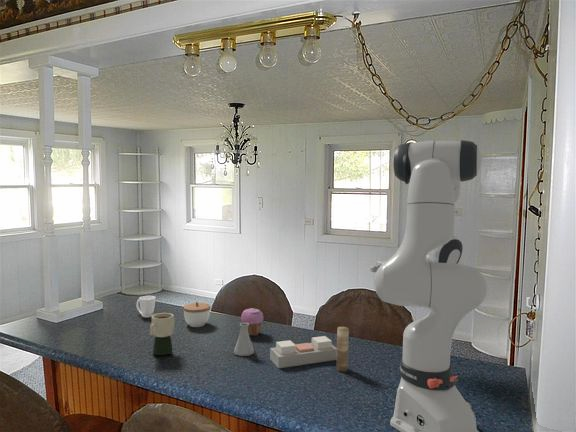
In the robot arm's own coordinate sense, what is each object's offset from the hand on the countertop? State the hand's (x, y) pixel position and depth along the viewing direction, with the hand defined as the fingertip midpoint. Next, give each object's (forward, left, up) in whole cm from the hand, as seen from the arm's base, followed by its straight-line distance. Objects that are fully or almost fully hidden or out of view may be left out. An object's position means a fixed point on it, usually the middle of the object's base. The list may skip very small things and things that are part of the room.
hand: (379, 272), depth 138 cm
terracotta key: (+11, +21, -28) cm, 37 cm away
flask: (+23, +38, -30) cm, 54 cm away
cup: (+78, +67, -30) cm, 107 cm away
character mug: (+31, +64, -30) cm, 77 cm away
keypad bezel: (+11, +21, -30) cm, 38 cm away
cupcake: (+40, +30, -30) cm, 58 cm away
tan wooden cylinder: (0, +13, -30) cm, 33 cm away
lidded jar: (+58, +48, -30) cm, 81 cm away
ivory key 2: (+11, +15, -27) cm, 32 cm away
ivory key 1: (+11, +27, -27) cm, 40 cm away
